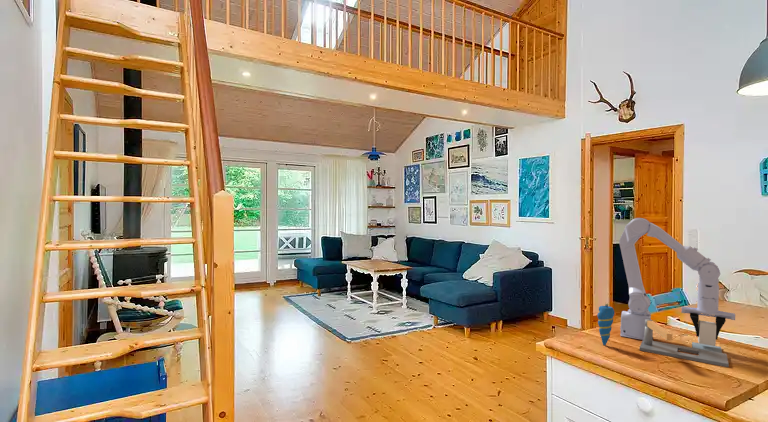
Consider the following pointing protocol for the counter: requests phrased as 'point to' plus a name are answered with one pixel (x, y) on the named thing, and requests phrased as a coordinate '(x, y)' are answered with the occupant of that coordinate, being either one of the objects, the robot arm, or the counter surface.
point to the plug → (707, 333)
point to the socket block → (672, 350)
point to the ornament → (605, 322)
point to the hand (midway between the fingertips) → (706, 337)
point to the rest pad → (706, 347)
